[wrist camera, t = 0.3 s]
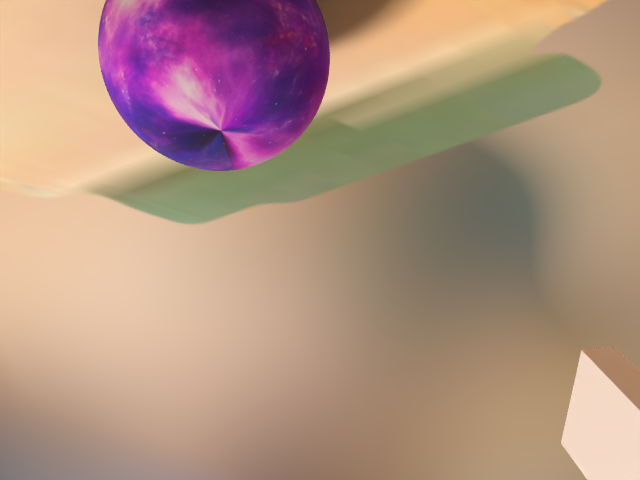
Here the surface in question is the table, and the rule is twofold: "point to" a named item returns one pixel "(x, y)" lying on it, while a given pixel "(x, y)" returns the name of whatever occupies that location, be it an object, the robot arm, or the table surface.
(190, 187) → the table surface
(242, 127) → the decorative orb
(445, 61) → the table surface
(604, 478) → the robot arm
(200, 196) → the table surface
